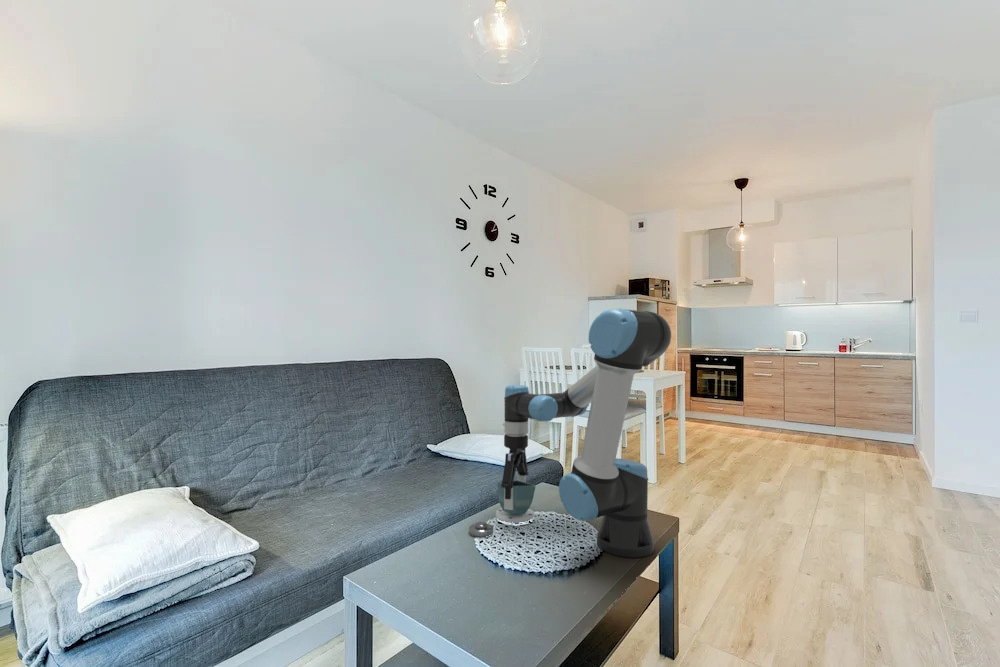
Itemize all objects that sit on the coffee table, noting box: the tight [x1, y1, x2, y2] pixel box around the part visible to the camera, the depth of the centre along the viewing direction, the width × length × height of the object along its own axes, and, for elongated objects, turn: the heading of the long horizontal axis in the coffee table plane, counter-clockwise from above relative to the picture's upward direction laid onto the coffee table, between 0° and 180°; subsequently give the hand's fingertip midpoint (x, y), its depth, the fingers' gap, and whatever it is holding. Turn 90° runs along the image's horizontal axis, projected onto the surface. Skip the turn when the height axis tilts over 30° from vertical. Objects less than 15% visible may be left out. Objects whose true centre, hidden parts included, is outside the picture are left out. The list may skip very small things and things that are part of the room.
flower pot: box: [497, 480, 537, 515], centre depth 143 cm, size 9×9×9 cm
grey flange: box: [495, 507, 535, 523], centre depth 144 cm, size 12×12×2 cm
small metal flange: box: [468, 521, 494, 538], centre depth 133 cm, size 7×7×2 cm
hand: (515, 502), depth 144 cm, fingers open, 13 cm apart
